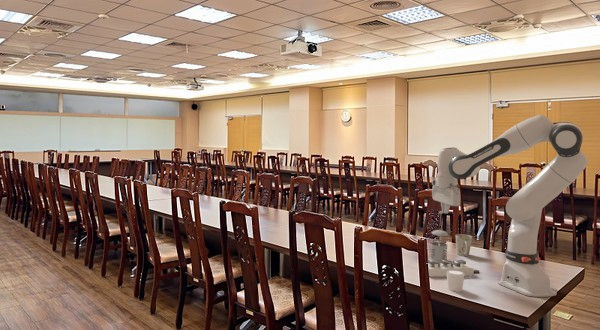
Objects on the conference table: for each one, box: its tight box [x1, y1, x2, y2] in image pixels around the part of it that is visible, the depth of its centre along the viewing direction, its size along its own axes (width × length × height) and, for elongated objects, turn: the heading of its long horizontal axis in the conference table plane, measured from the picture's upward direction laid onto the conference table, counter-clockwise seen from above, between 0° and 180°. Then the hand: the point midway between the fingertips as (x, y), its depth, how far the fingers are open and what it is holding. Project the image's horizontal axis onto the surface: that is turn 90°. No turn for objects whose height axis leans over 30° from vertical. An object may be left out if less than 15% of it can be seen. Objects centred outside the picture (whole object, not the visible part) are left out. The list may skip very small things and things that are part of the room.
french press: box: [428, 210, 449, 263], centre depth 221 cm, size 10×12×25 cm
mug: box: [455, 233, 473, 257], centre depth 232 cm, size 8×13×10 cm, turn 174°
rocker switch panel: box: [427, 263, 480, 278], centre depth 200 cm, size 8×27×5 cm, turn 99°
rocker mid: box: [440, 260, 453, 266], centre depth 199 cm, size 3×5×1 cm
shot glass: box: [446, 270, 465, 293], centre depth 178 cm, size 7×7×7 cm
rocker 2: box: [452, 259, 467, 266], centre depth 200 cm, size 3×5×1 cm
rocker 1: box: [427, 259, 440, 266], centre depth 198 cm, size 3×5×1 cm
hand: (445, 212), depth 202 cm, fingers closed
